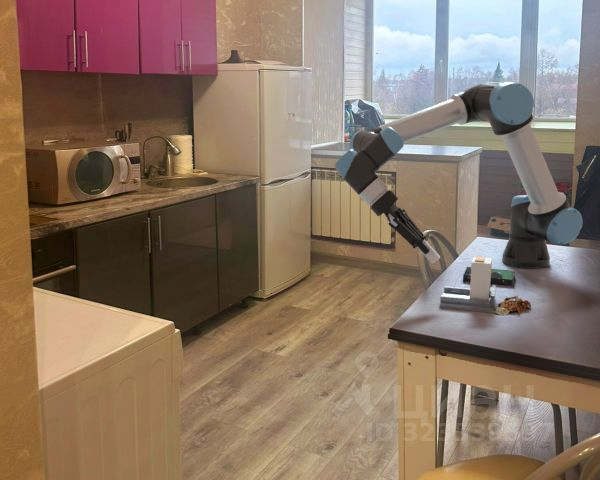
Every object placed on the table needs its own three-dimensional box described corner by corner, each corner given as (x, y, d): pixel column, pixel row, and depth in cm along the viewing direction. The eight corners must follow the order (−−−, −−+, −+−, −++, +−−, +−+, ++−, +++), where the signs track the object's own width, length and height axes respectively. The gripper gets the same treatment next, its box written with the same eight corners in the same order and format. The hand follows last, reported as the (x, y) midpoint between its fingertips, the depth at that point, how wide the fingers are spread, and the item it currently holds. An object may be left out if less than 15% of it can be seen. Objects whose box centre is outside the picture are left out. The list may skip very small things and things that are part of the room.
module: (489, 296, 181) (492, 256, 178) (488, 303, 176) (491, 262, 173) (471, 294, 183) (473, 255, 180) (469, 301, 177) (471, 260, 174)
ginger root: (487, 313, 174) (488, 300, 173) (510, 302, 182) (511, 290, 181) (510, 319, 169) (511, 306, 168) (533, 308, 177) (534, 296, 176)
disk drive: (462, 284, 200) (513, 288, 195) (462, 275, 199) (514, 279, 194) (466, 274, 209) (514, 278, 204) (466, 266, 208) (515, 269, 203)
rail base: (495, 298, 184) (496, 284, 183) (493, 312, 173) (494, 297, 172) (444, 293, 188) (445, 280, 187) (439, 307, 177) (440, 292, 176)
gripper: (375, 201, 190) (430, 262, 188) (363, 211, 178) (422, 275, 177) (393, 184, 187) (449, 246, 185) (383, 193, 175) (443, 258, 174)
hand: (436, 260), depth 181 cm, fingers closed
